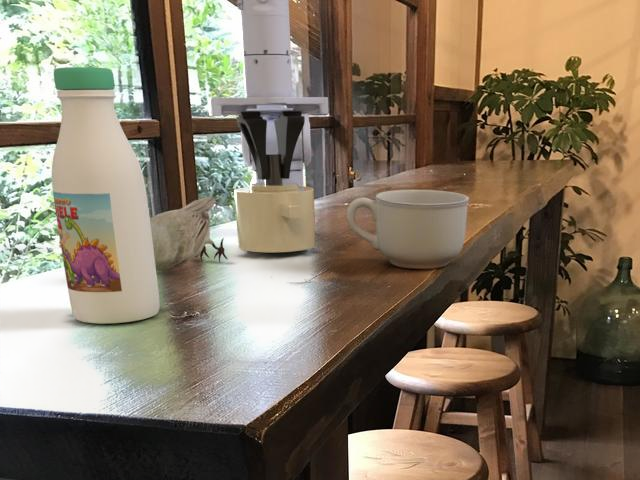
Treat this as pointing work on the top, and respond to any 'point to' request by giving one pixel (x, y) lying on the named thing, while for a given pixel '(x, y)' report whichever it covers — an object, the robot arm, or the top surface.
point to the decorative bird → (182, 234)
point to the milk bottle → (101, 205)
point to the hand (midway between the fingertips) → (273, 178)
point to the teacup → (415, 226)
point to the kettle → (275, 213)
